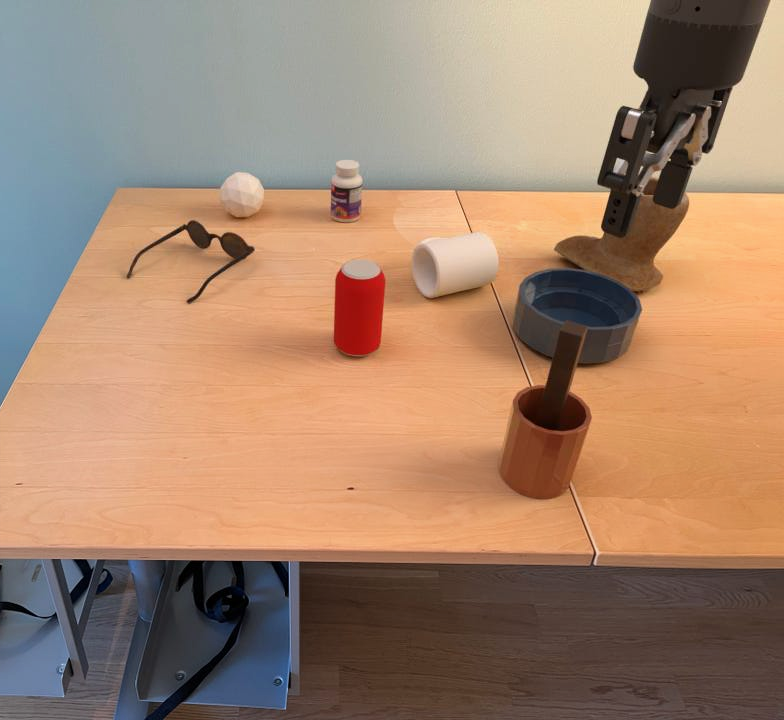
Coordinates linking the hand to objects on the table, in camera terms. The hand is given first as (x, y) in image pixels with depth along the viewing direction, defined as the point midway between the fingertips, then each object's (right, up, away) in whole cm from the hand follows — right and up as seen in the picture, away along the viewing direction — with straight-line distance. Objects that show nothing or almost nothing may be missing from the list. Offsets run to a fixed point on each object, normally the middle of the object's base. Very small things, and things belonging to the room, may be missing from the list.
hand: (640, 218), depth 59 cm
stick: (-4, -24, +14) cm, 28 cm away
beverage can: (-22, -10, +33) cm, 41 cm away
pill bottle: (-21, +13, +65) cm, 70 cm away
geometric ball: (-40, +14, +66) cm, 78 cm away
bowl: (+7, -9, +35) cm, 37 cm away
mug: (-7, 0, +47) cm, 47 cm away
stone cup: (+19, +2, +49) cm, 53 cm away
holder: (-4, -24, +15) cm, 29 cm away
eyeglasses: (-47, +2, +50) cm, 68 cm away
